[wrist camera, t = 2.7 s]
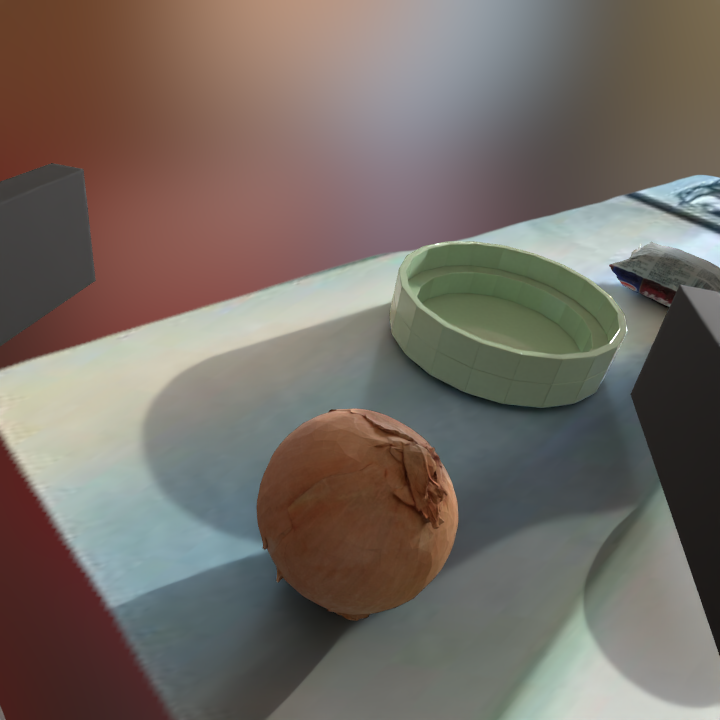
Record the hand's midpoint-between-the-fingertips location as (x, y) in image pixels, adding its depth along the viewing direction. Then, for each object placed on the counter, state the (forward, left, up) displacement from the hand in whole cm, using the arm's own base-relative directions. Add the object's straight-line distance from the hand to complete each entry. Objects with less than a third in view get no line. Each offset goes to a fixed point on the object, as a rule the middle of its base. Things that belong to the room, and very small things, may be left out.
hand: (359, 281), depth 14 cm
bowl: (+16, +30, -20) cm, 40 cm away
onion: (+3, +7, -20) cm, 22 cm away
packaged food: (+38, +43, -20) cm, 61 cm away
